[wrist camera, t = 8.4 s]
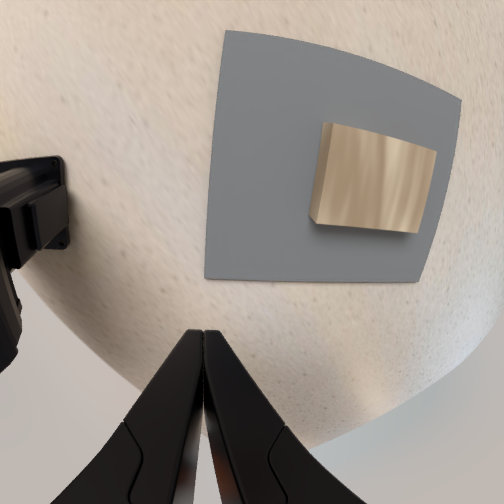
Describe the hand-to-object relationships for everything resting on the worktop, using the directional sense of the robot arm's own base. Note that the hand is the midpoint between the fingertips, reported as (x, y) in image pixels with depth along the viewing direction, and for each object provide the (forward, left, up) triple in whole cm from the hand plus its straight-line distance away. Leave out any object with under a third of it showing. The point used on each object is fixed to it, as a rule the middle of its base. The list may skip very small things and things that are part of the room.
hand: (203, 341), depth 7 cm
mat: (+9, +3, -12) cm, 15 cm away
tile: (+6, +3, -11) cm, 13 cm away
